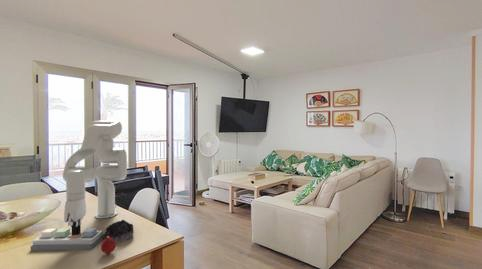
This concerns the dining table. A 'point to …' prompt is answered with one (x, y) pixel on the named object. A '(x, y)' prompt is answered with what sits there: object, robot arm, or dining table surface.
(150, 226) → the dining table surface
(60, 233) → the key sage
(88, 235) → the key slate
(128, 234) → the crystal cluster
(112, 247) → the onion
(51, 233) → the key ivory
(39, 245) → the keypad board
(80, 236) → the key terracotta
